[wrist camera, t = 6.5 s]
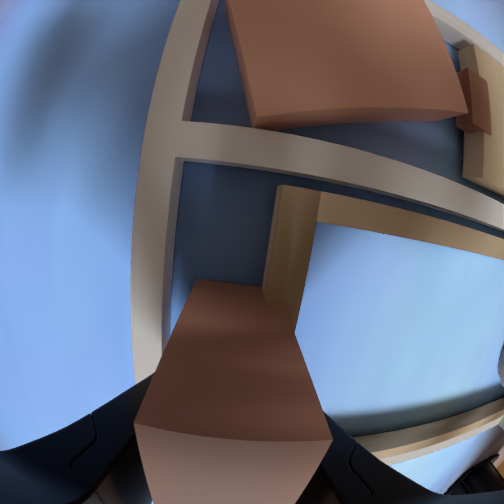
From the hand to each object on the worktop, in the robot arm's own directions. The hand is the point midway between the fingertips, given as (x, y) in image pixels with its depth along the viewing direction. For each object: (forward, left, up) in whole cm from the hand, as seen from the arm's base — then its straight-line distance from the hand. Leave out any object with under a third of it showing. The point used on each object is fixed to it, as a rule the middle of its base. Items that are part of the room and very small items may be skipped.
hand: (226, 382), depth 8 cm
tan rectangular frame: (-11, 0, -2) cm, 11 cm away
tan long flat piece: (-20, -11, -2) cm, 23 cm away
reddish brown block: (-2, -11, -2) cm, 11 cm away
